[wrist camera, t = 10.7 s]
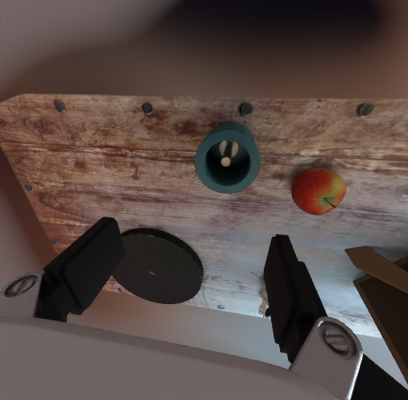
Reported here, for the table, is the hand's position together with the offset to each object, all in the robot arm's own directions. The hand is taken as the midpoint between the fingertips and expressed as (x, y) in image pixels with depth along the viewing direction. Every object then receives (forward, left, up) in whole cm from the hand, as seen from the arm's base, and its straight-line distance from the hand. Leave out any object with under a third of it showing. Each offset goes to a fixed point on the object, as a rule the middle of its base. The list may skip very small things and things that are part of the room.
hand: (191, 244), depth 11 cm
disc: (+38, -19, -29) cm, 51 cm away
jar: (0, +1, -28) cm, 28 cm away
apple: (+6, +17, -29) cm, 34 cm away
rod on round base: (0, +1, -28) cm, 28 cm away
